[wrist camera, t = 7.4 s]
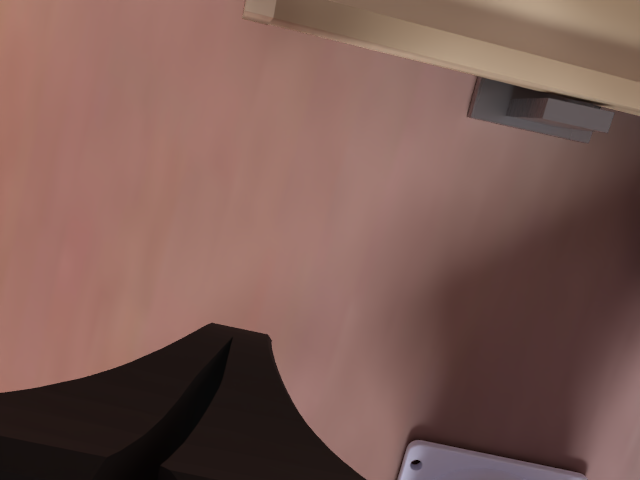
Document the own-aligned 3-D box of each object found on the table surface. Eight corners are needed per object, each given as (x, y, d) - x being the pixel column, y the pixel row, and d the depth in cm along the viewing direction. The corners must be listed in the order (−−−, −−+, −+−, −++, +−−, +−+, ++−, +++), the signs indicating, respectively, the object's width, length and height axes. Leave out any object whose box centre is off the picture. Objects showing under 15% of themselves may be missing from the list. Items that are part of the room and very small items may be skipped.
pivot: (581, 142, 20) (643, 151, 16) (466, 117, 20) (500, 120, 16) (650, -68, 18) (738, -116, 14) (525, -96, 18) (578, -154, 14)
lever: (729, 302, 21) (781, 324, 19) (208, 217, 16) (207, 235, 14) (855, 7, 18) (929, -2, 16) (276, -187, 14) (284, -231, 12)
